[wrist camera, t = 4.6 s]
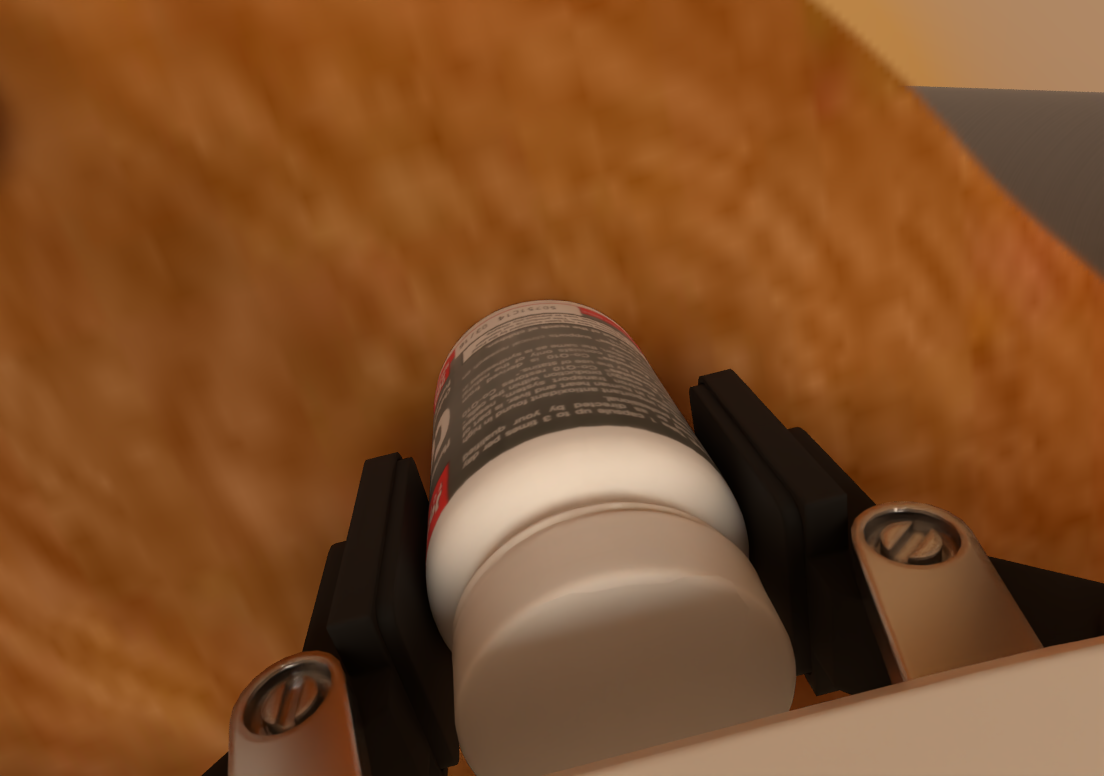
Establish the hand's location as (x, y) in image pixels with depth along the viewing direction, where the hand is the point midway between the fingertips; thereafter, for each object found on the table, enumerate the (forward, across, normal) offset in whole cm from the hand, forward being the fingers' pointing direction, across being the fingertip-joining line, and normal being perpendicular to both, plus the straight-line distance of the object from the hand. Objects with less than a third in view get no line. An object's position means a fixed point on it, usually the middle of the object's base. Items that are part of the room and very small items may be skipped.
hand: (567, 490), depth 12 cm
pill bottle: (+4, 0, 0) cm, 4 cm away
